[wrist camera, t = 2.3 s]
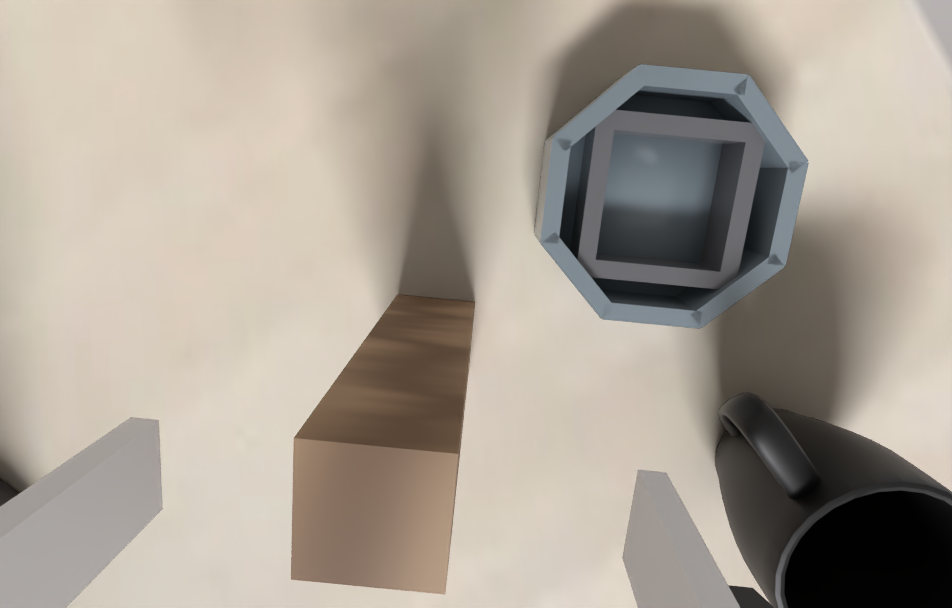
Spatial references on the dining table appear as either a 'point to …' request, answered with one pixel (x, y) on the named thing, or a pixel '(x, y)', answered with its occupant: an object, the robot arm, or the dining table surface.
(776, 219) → the octagonal peg hole ring
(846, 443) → the mug
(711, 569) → the robot arm
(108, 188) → the dining table surface
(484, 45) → the dining table surface
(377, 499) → the wooden post
